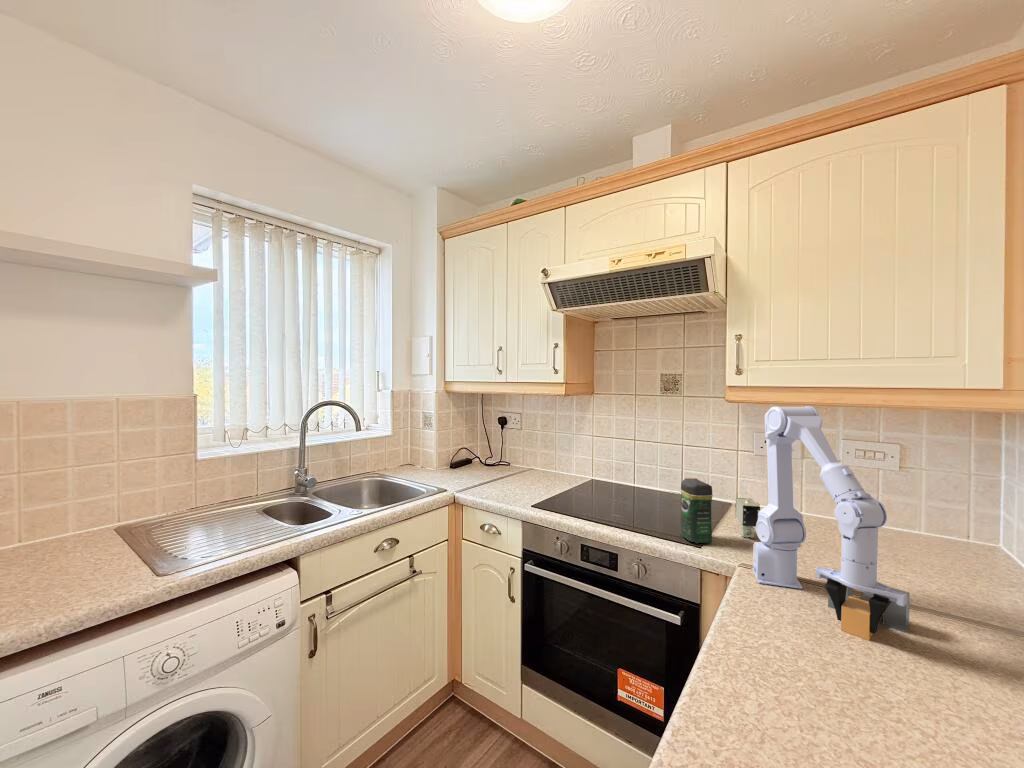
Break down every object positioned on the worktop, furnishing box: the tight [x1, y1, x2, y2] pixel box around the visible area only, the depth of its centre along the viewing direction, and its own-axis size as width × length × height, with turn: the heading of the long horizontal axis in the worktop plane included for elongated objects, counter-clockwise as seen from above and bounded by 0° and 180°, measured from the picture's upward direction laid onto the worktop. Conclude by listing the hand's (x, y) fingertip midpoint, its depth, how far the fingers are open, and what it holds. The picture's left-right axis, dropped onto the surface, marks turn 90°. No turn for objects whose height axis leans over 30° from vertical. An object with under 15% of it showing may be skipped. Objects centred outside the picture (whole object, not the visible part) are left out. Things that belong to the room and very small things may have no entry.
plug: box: [840, 592, 874, 641], centre depth 92 cm, size 16×4×5 cm, turn 131°
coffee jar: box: [679, 477, 713, 544], centre depth 137 cm, size 10×8×19 cm
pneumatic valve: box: [734, 497, 761, 539], centre depth 139 cm, size 6×12×12 cm, turn 167°
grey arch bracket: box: [827, 586, 911, 633], centre depth 94 cm, size 4×13×7 cm, turn 41°
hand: (857, 625), depth 88 cm, fingers closed on plug, 5 cm apart
